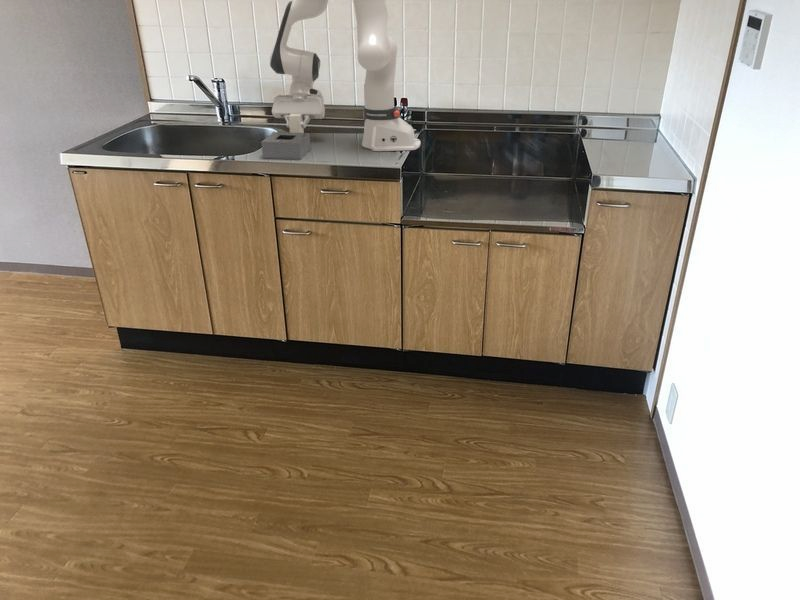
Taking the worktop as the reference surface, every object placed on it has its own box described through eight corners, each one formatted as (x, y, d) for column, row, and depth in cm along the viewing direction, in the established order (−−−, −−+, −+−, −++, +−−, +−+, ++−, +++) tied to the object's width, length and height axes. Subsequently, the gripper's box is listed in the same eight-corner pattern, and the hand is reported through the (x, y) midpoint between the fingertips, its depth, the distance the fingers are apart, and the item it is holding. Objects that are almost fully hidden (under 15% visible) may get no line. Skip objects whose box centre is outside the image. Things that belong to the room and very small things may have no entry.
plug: (304, 142, 260) (302, 113, 255) (301, 145, 257) (299, 116, 252) (294, 142, 261) (291, 113, 256) (290, 145, 257) (288, 116, 252)
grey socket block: (310, 149, 252) (309, 133, 249) (300, 159, 240) (299, 142, 237) (274, 148, 254) (273, 132, 251) (263, 158, 241) (261, 141, 239)
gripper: (272, 90, 257) (267, 121, 254) (324, 91, 255) (319, 122, 251) (277, 99, 263) (271, 130, 259) (327, 100, 261) (323, 131, 257)
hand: (295, 126), depth 255 cm, fingers closed on plug, 4 cm apart
